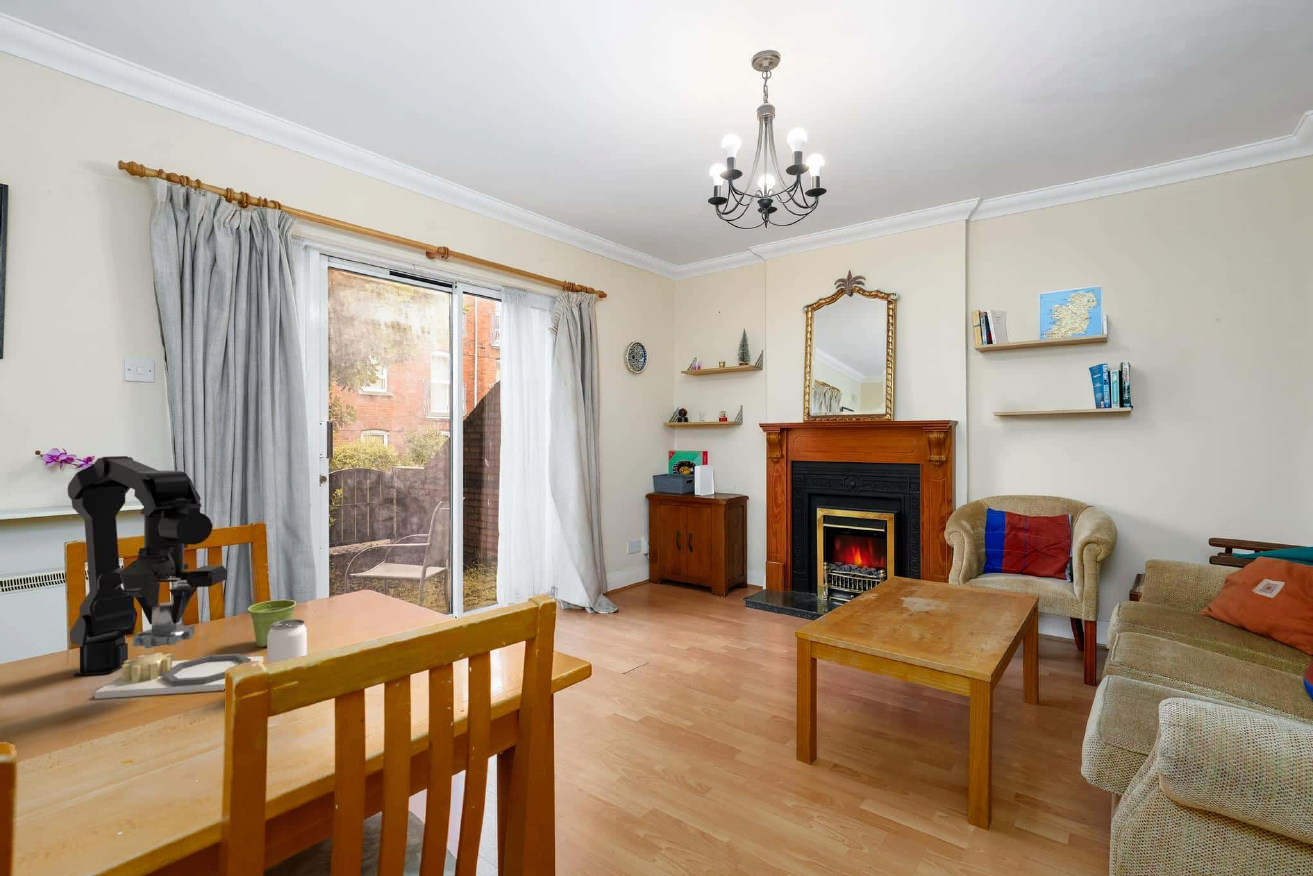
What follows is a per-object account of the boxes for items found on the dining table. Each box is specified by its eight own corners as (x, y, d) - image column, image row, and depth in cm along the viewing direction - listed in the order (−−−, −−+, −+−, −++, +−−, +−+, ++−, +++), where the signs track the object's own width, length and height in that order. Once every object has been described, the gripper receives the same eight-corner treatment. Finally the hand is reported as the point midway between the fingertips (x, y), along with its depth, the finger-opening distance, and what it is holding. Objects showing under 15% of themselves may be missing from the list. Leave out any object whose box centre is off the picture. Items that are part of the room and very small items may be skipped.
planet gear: (119, 649, 108) (119, 612, 107) (153, 632, 116) (153, 598, 116) (175, 647, 109) (175, 611, 109) (205, 630, 118) (205, 597, 118)
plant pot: (304, 641, 141) (304, 603, 140) (260, 653, 133) (260, 614, 132) (283, 633, 146) (283, 597, 145) (239, 645, 138) (239, 607, 137)
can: (288, 695, 112) (288, 630, 112) (258, 691, 113) (258, 628, 113) (314, 681, 118) (314, 619, 118) (286, 678, 120) (286, 617, 120)
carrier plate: (94, 698, 110) (94, 675, 110) (144, 668, 124) (144, 648, 124) (229, 690, 114) (229, 667, 114) (263, 661, 128) (263, 642, 128)
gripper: (72, 549, 103) (73, 640, 103) (193, 547, 106) (194, 635, 106) (119, 537, 114) (120, 620, 114) (228, 535, 117) (228, 616, 117)
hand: (164, 623), depth 113 cm, fingers closed on planet gear, 4 cm apart
